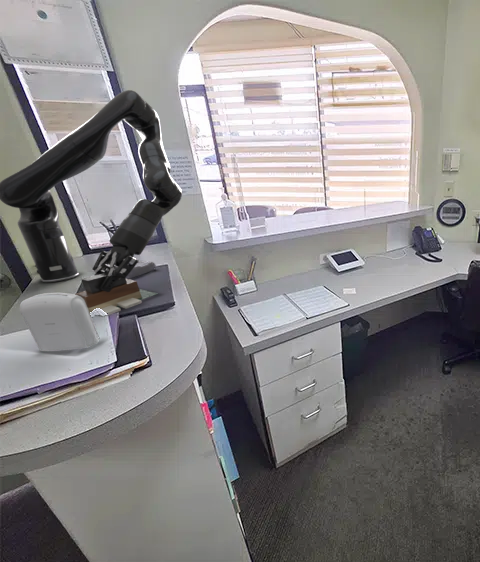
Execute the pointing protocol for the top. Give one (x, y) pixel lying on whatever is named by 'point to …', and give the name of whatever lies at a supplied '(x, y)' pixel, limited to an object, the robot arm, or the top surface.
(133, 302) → the chalk smudge
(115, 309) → the chalk smudge
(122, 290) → the eraser
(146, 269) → the stone block
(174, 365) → the top surface
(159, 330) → the top surface
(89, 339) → the photo printer
